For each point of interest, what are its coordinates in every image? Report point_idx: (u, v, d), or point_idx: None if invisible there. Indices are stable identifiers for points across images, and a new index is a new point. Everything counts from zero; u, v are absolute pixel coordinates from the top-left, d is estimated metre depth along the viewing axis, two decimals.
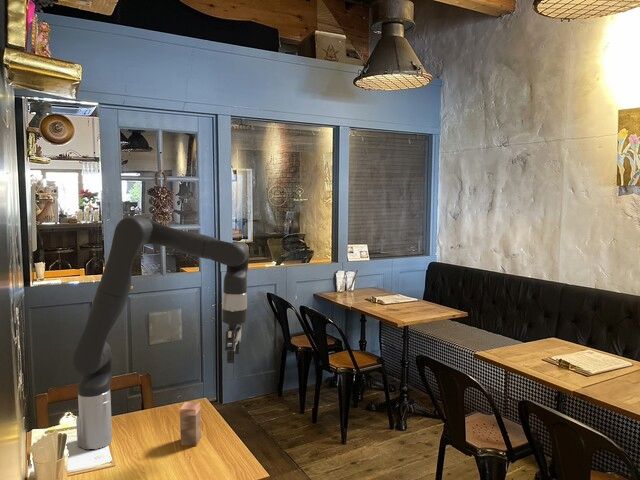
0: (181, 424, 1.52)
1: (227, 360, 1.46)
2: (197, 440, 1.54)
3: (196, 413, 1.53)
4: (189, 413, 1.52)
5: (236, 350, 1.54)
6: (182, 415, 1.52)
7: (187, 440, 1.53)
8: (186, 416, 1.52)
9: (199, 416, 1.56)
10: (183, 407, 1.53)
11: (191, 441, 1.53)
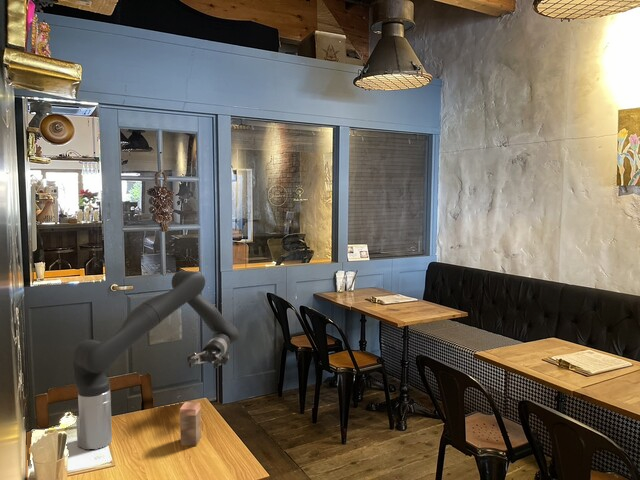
0: (181, 424, 1.52)
1: (216, 362, 1.68)
2: (197, 440, 1.54)
3: (196, 413, 1.53)
4: (189, 413, 1.52)
5: (192, 364, 1.69)
6: (182, 415, 1.52)
7: (187, 440, 1.53)
8: (186, 416, 1.52)
9: (199, 416, 1.56)
10: (183, 407, 1.53)
11: (191, 441, 1.53)
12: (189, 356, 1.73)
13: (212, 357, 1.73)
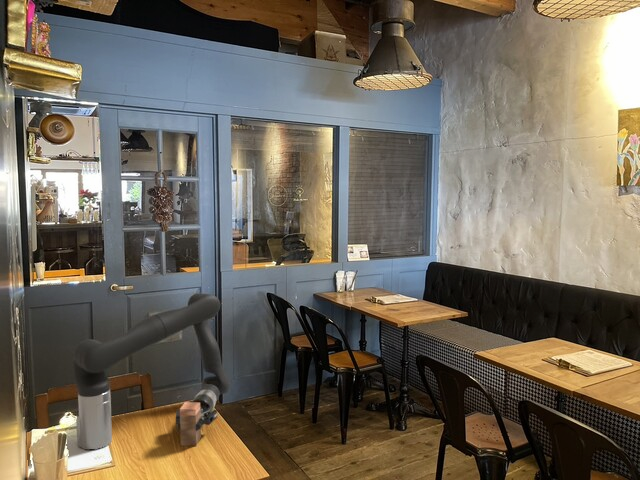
0: (181, 424, 1.52)
1: (198, 423, 1.53)
2: (197, 440, 1.54)
3: (196, 413, 1.53)
4: (189, 413, 1.52)
5: None
6: (182, 415, 1.52)
7: (187, 440, 1.53)
8: (186, 416, 1.52)
9: (199, 416, 1.56)
10: (183, 407, 1.53)
11: (191, 441, 1.53)
12: (178, 416, 1.57)
13: None
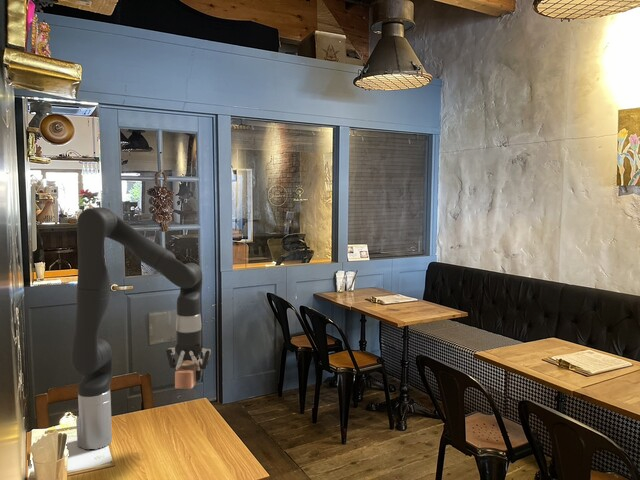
0: None
1: (198, 379, 1.51)
2: None
3: (193, 383, 1.48)
4: None
5: None
6: None
7: None
8: None
9: (195, 370, 1.50)
10: (177, 384, 1.46)
11: None
12: (172, 365, 1.50)
13: None
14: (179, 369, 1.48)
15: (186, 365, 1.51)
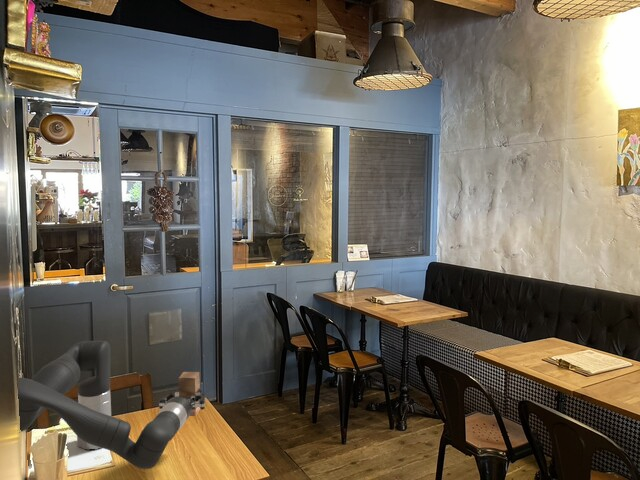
0: None
1: None
2: (198, 377, 1.51)
3: None
4: None
5: None
6: None
7: None
8: None
9: None
10: None
11: None
12: None
13: None
14: None
15: (184, 396, 1.48)
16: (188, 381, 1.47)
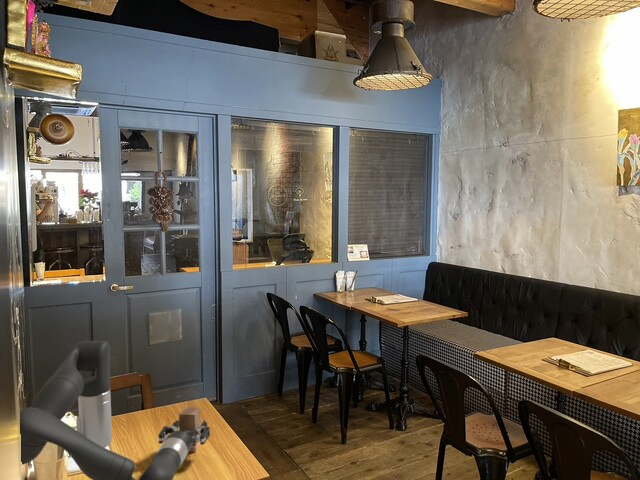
0: None
1: None
2: (199, 412, 1.52)
3: None
4: None
5: (177, 424, 1.52)
6: None
7: None
8: None
9: None
10: None
11: None
12: (166, 434, 1.48)
13: None
14: None
15: None
16: (188, 417, 1.48)
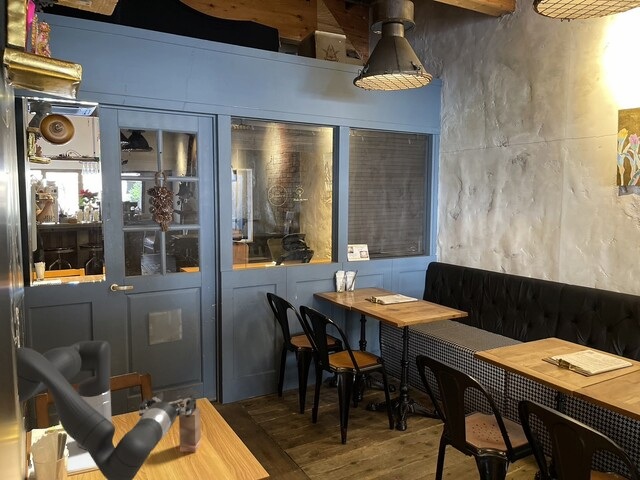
0: None
1: None
2: (199, 412, 1.52)
3: (199, 439, 1.53)
4: None
5: (161, 396, 1.37)
6: None
7: None
8: None
9: (196, 437, 1.50)
10: None
11: None
12: (148, 407, 1.34)
13: None
14: (181, 444, 1.49)
15: (184, 433, 1.49)
16: (188, 417, 1.48)
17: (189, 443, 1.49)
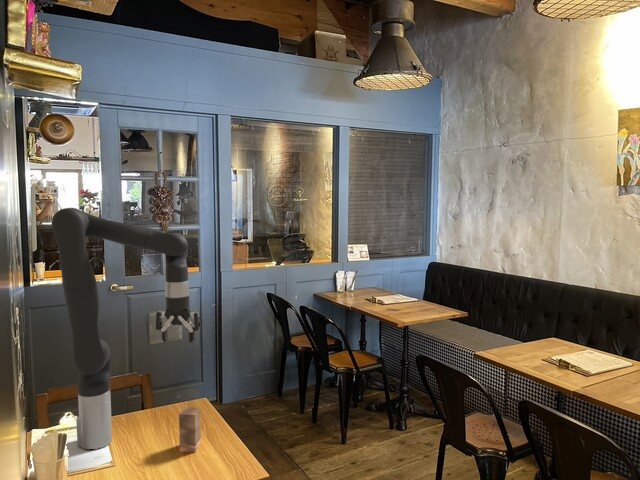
0: None
1: (191, 341, 1.59)
2: (199, 412, 1.52)
3: (199, 439, 1.53)
4: None
5: (167, 338, 1.61)
6: None
7: None
8: None
9: (196, 437, 1.50)
10: None
11: None
12: (158, 327, 1.59)
13: (182, 324, 1.59)
14: (181, 444, 1.49)
15: (184, 433, 1.49)
16: (188, 417, 1.48)
17: (189, 443, 1.49)
